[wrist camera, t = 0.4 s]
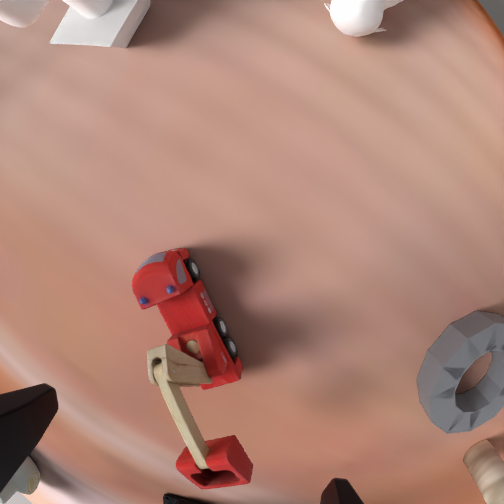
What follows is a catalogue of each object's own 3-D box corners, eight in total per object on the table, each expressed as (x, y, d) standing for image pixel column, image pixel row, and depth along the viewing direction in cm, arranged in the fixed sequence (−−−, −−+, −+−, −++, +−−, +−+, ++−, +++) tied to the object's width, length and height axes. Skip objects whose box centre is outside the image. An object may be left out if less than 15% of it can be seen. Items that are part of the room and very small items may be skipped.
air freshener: (43, 485, 31) (14, 519, 21) (7, 455, 31) (-24, 484, 21) (42, 457, 29) (5, 495, 19) (2, 421, 29) (-37, 453, 19)
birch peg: (480, 461, 22) (521, 534, 9) (456, 466, 22) (495, 546, 9) (496, 436, 21) (546, 509, 8) (472, 440, 22) (521, 521, 9)
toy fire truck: (187, 240, 22) (116, 266, 12) (265, 400, 23) (251, 492, 13) (148, 258, 22) (66, 292, 13) (227, 410, 23) (199, 497, 14)
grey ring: (483, 411, 21) (496, 427, 18) (401, 414, 22) (411, 435, 19) (522, 316, 19) (541, 327, 16) (441, 305, 20) (459, 318, 17)
